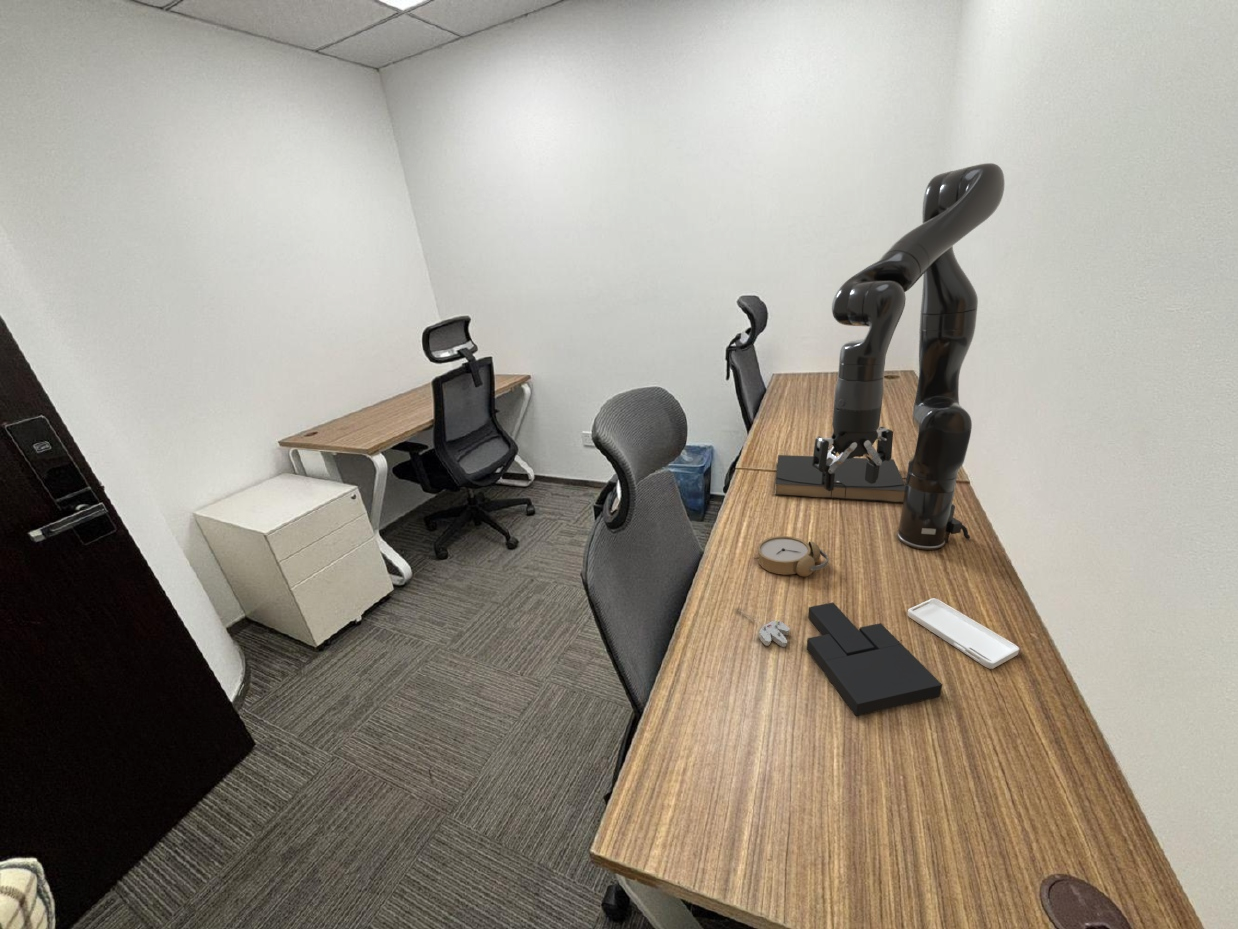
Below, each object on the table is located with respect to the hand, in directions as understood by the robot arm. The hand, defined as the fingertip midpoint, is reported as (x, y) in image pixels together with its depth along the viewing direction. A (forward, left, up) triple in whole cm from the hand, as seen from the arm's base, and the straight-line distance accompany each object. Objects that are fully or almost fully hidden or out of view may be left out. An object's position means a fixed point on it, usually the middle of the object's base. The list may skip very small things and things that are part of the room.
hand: (849, 485), depth 91 cm
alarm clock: (+5, -10, -23) cm, 26 cm away
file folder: (-27, -44, -23) cm, 57 cm away
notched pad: (+8, +21, -23) cm, 32 cm away
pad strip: (+8, +13, -23) cm, 27 cm away
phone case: (-12, +17, -23) cm, 31 cm away
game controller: (+20, +7, -23) cm, 31 cm away
